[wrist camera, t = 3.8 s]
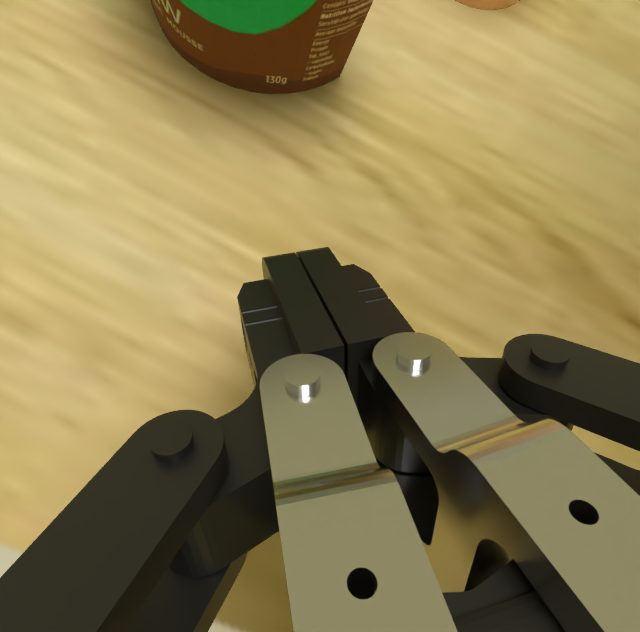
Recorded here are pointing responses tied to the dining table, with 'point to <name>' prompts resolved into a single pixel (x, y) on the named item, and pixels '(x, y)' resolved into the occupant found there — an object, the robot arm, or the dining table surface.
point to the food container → (264, 39)
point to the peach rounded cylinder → (488, 3)
